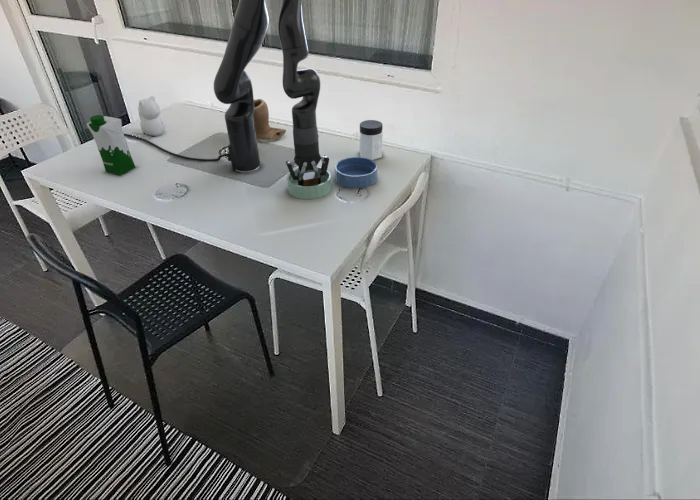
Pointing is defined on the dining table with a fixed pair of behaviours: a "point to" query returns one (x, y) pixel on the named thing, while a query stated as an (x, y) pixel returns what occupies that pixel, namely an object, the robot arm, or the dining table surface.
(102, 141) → the milk carton
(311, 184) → the walnut block
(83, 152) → the dining table surface
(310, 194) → the celadon bowl
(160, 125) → the cat figurine
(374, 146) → the jar
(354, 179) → the blue bowl
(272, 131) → the tan boot
